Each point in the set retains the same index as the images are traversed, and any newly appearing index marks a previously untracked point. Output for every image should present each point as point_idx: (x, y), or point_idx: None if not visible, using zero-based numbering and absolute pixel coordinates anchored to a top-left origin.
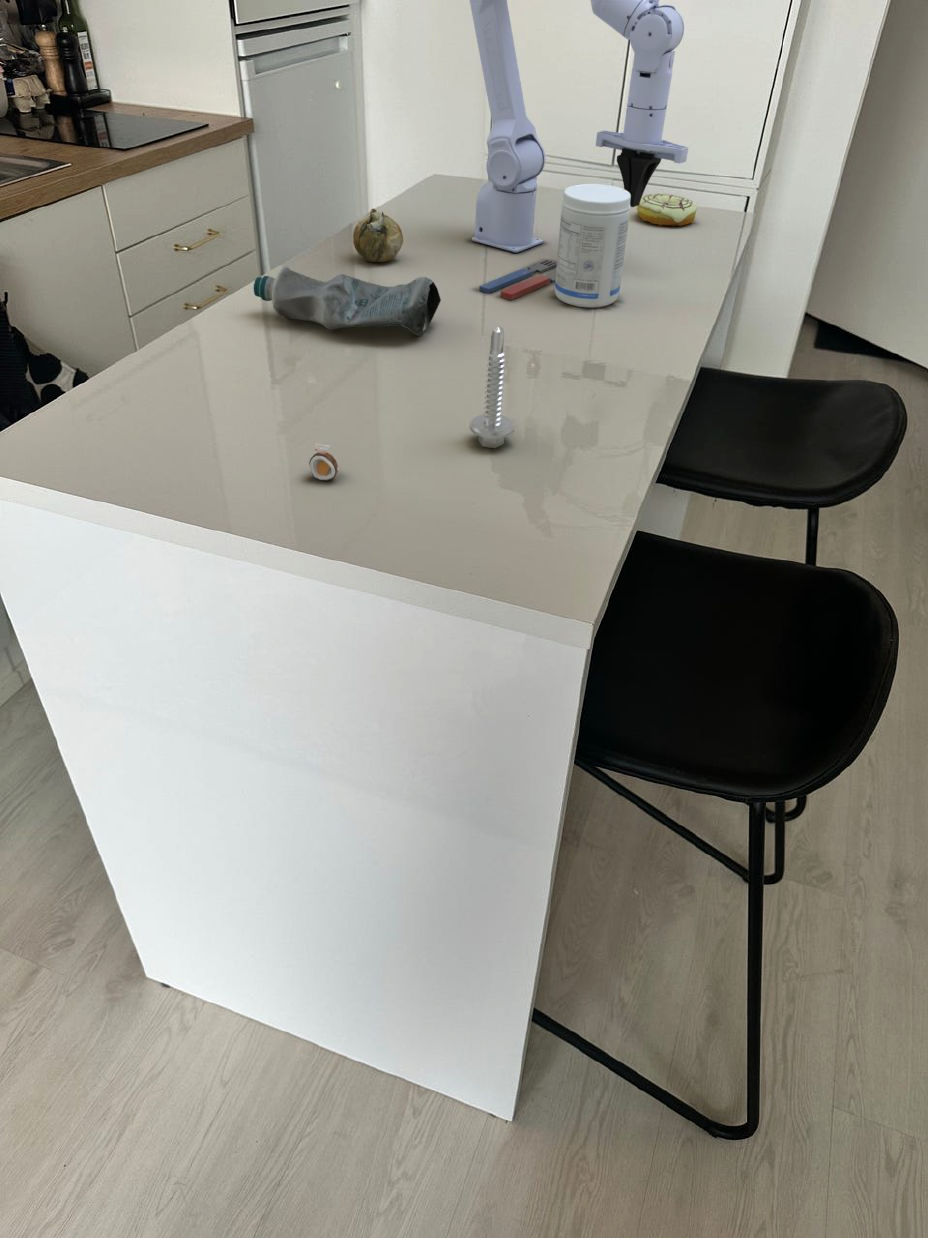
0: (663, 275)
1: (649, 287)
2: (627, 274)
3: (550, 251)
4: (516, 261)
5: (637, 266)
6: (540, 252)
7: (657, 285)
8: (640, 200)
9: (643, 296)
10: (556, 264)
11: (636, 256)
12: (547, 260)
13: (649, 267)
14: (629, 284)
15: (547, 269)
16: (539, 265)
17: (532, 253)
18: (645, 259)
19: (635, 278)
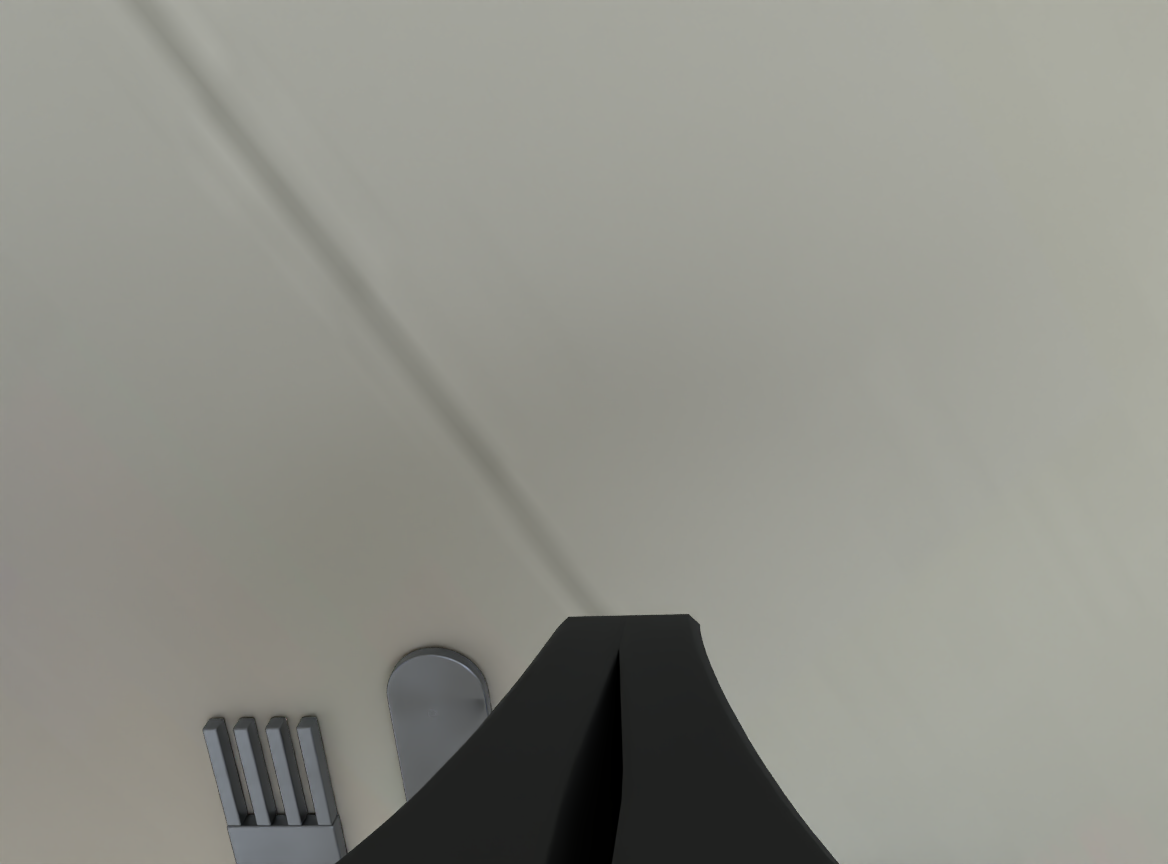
0: (1055, 327)
1: (1095, 652)
2: (799, 530)
3: (39, 518)
4: (94, 839)
5: (746, 296)
6: (21, 589)
7: (1127, 574)
8: (702, 641)
9: (1146, 825)
10: (320, 759)
11: (569, 44)
12: (221, 740)
13: (843, 234)
14: (936, 699)
15: (344, 847)
16: (275, 858)
17: (11, 647)
18: (685, 53)
19: (900, 562)
